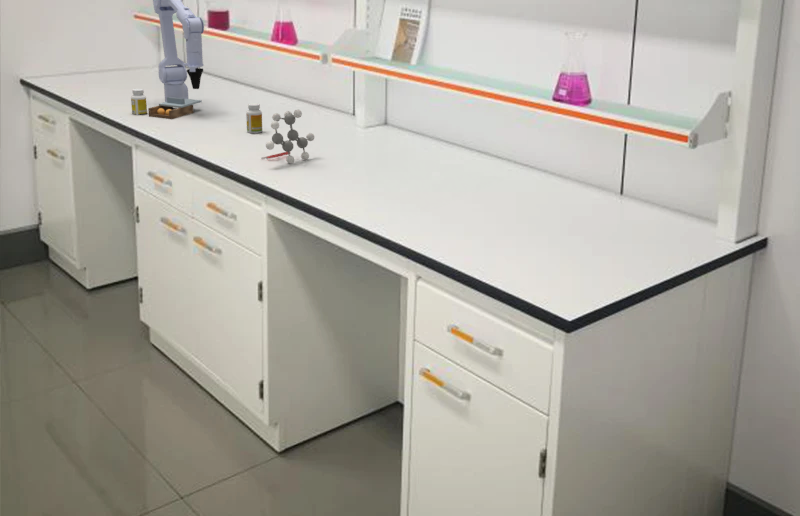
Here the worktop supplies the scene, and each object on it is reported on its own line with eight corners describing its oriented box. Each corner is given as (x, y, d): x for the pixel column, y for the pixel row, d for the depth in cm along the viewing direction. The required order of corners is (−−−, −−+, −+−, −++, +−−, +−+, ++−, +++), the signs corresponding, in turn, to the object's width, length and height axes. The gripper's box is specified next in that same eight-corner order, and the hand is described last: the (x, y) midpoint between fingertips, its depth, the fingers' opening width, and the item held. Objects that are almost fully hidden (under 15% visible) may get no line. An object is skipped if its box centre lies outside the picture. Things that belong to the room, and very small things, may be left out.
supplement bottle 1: (149, 114, 337) (147, 88, 334) (144, 117, 332) (142, 91, 329) (135, 114, 338) (133, 88, 334) (130, 116, 333) (128, 90, 329)
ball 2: (168, 115, 333) (168, 108, 332) (174, 116, 332) (174, 108, 331) (164, 117, 330) (163, 109, 329) (170, 117, 329) (170, 110, 328)
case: (171, 112, 343) (170, 102, 342) (193, 114, 340) (193, 104, 338) (149, 118, 331) (148, 108, 329) (171, 121, 327) (171, 110, 326)
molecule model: (293, 159, 290) (284, 111, 287) (328, 155, 280) (318, 105, 277) (248, 171, 275) (237, 120, 272) (283, 167, 265) (272, 114, 262)
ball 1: (160, 114, 334) (159, 107, 333) (166, 115, 333) (166, 108, 332) (155, 116, 331) (155, 108, 331) (162, 116, 331) (161, 109, 330)
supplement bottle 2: (265, 131, 316) (264, 104, 313) (256, 134, 312) (255, 106, 308) (253, 129, 318) (252, 102, 315) (243, 132, 314) (242, 104, 311)
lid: (180, 99, 347) (179, 92, 346) (201, 101, 344) (201, 95, 343) (158, 105, 335) (158, 98, 334) (181, 107, 332) (180, 100, 331)
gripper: (186, 48, 335) (187, 85, 340) (180, 53, 322) (182, 91, 326) (205, 49, 336) (206, 85, 340) (200, 54, 322) (201, 92, 327)
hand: (196, 88), depth 333 cm, fingers closed
